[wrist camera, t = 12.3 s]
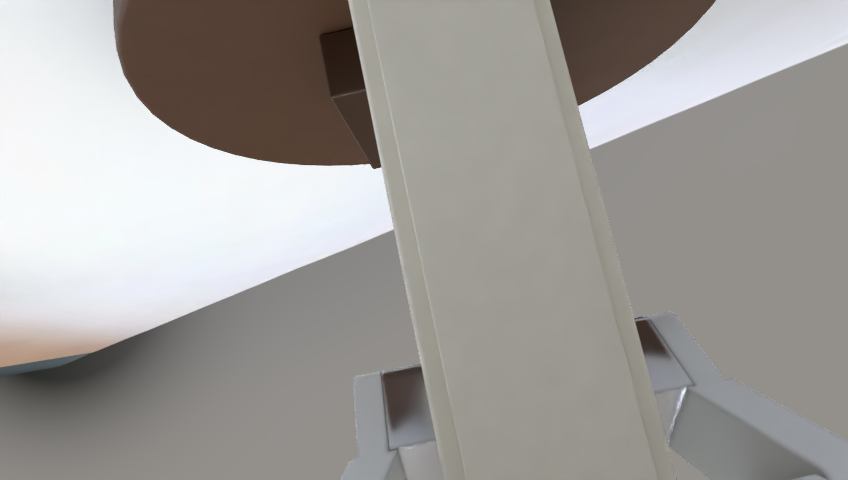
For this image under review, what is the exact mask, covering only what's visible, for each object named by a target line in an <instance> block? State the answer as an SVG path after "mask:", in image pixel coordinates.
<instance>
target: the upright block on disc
mask: <svg viewBox="0 0 848 480" xmlns="http://www.w3.org/2000/svg"><path fill="white" fill-rule="evenodd" d="M715 1H716V0H113V7H114V31H115V39H116V47H117V52H118V56H119V59H120V63H121V66H122V70H123V73H124V75H125V77H126V79H127V81H128V82H129V84H130V86H131V87H132V89H133V91H134V93H135V94H136V96H137V97H138V98H139V100H140V101H141V102H142V103H143V104H144V105H145V106H146V107H147V108H148V109H149V110H150V112H151V113H152V114H153V115H155V116H156V117H157V118H159V119H160V120H161V121H163V122H164V123H165V124H167V125H168V126H169V127H170V128H172V129H174V130H176V131H177V132H179V133H181V134H183V135H185V136H186V137H188V138H190V139H192V140H195V141H197V142H199V143H202V144H204V145H207V146H209V147H211V148H214V149H218V150H221V151H224V152H228V153H231V154H234V155H238V156H243V157H248V158H252V159H257V160H263V161H270V162H277V163H287V164H299V165H324V166H333V165H359V164H370V165H371V166H372V168H373V169H376V168H380V167H382V172H383V177H384V182H385V187H386V192H387V197H388V202H389V207H390V212H391V217H392V222H393V227H394V232H395V236H396V242H397V247H398V252H399V257H400V262H401V267H402V272H403V276H404V282H405V287H406V292H407V297H408V302H409V307H410V312H411V317H412V322H413V327H414V332H415V337H416V342H417V347H418V352H419V357H420V362H421V367H422V372H423V377H424V382H425V387H426V392H427V397H428V402H429V407H430V412H431V417H432V422H433V427H434V432H435V437H436V442H437V447H438V452H439V457H440V462H441V467H442V472H443V477H444V480H677V478H676V474H675V470H674V467H673V463H672V459H671V456H670V452H669V448H668V444H667V440H666V436H665V433H664V429H663V425H662V421H661V418H660V414H659V410H658V406H657V403H656V399H655V395H654V391H653V387H652V384H651V380H650V376H649V372H648V369H647V365H646V361H645V357H644V354H643V350H642V346H641V342H640V338H639V335H638V331H637V327H636V323H635V320H634V316H633V312H632V308H631V305H630V301H629V297H628V293H627V290H626V286H625V282H624V278H623V274H622V271H621V267H620V263H619V259H618V256H617V252H616V248H615V244H614V241H613V237H612V233H611V229H610V225H609V222H608V218H607V214H606V210H605V207H604V203H603V199H602V195H601V192H600V188H599V184H598V180H597V177H596V173H595V169H594V166H593V161H592V158H591V154H590V150H589V146H588V143H587V139H586V135H585V131H584V127H583V124H582V120H581V116H580V112H579V109H578V106H579V105H581V104H583V103H585V102H587V101H589V100H590V99H592V98H594V97H596V96H598V95H600V94H602V93H603V92H605V91H607V90H609V89H610V88H612V87H614V86H615V85H617V84H619V83H620V82H622V81H624V80H625V79H627V78H628V77H630V76H632V75H633V74H634V73H636V72H637V71H639V70H640V69H642V68H643V67H645V66H646V65H648V64H649V63H650V62H652V61H653V60H654V59H656V58H657V57H658V56H659V55H661V54H662V53H663V52H665V51H666V50H667V49H668V48H670V47H671V46H672V45H673V44H674V43H676V42H677V41H678V40H679V39H680V38H681V37H682V36H683V35H684V34H685V33H686V32H687V31H689V30H690V29H691V28H692V27H693V26H694V25H695V24H696V23H697V22H698V20H699V19H700V18H701V17H702V16H703V15H704V14H705V13H706V12H707V10H708V9H709V8H710V7H711V6H712V5H713V4H714V2H715Z"/></svg>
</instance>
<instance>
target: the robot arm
mask: <svg viewBox="0 0 848 480" xmlns="http://www.w3.org/2000/svg"><path fill="white" fill-rule="evenodd" d="M634 320H635V323H636V327H637V331H638V335H639V338H640V342H641V346H642V350H643V354H644V357H645V361H646V365H647V369H648V372H649V376H650V380H651V384H652V387H653V391H654V395H655V399H656V403H657V406H658V410H659V414H660V418H661V421H662V425H663V429H664V433H665V436H666V440H667V444H669V447H670V448H671V449H673V450H674V451H675V452H676V453H678V454H679V455H680V456H682V457H683V458H684V459H685V460H687V461H688V462H689V463H690V464H692V465H693V466H694V467H695V468H697V469H698V470H699V471H700V472H701V473H703V474H704V475H705V476H706V477H708V478H709V479H710V480H848V441H846V440H844V439H843V438H841V437H839V436H837V435H835V434H833V433H832V432H830V431H828V430H826V429H824V428H822V427H820V426H819V425H817V424H815V423H813V422H812V421H810V420H808V419H806V418H804V417H802V416H800V415H799V414H797V413H795V412H793V411H791V410H790V409H788V408H786V407H784V406H782V405H781V404H779V403H777V402H775V401H773V400H771V399H769V398H768V397H766V396H764V395H762V394H760V393H758V392H757V391H755V390H753V389H751V388H749V387H748V386H746V385H744V384H742V383H740V382H738V381H737V380H735V379H733V378H729V379H723V377H722V376H721V374H720V373H719V372H718V370H717V369H716V368H715V366H714V365H713V364H712V362H711V361H710V360H709V358H708V357H707V355H706V354H705V353H704V351H703V350H702V349H701V348H700V346H699V345H698V343H697V342H696V341H695V339H694V338H693V337H692V335H691V334H690V333H689V331H688V330H687V329H686V327H685V326H684V325H683V323H682V322H681V320H680V319H679V318H678V316H677V315H676V314H674V313H672V312H664V313H660V314H655V315H650V316H646V317H638V318H634ZM353 386H354V402H355V417H356V435H357V451H358V458H355V459H351V460H350V461H349V463H348V465H347V467H346V468H345V470H344V472H343V474H342V476H341V478H340V480H444V477H443V472H442V467H441V462H440V457H439V452H438V447H437V442H436V437H435V432H434V427H433V422H432V417H431V412H430V407H429V402H428V397H427V392H426V387H425V382H424V377H423V372H422V367H421V364H418V365H413V366H407V367H402V368H396V369H391V370H385V371H380V372H375V373H370V374H365V375H360V376H355V378H354V385H353Z"/></svg>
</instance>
